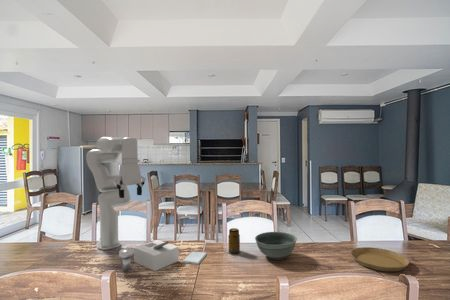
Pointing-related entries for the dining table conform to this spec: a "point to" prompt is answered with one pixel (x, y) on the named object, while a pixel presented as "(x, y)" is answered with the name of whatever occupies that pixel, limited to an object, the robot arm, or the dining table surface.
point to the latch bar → (160, 245)
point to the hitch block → (155, 255)
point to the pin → (126, 257)
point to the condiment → (234, 242)
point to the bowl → (276, 244)
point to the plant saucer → (379, 259)
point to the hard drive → (194, 258)
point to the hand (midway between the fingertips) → (130, 196)
